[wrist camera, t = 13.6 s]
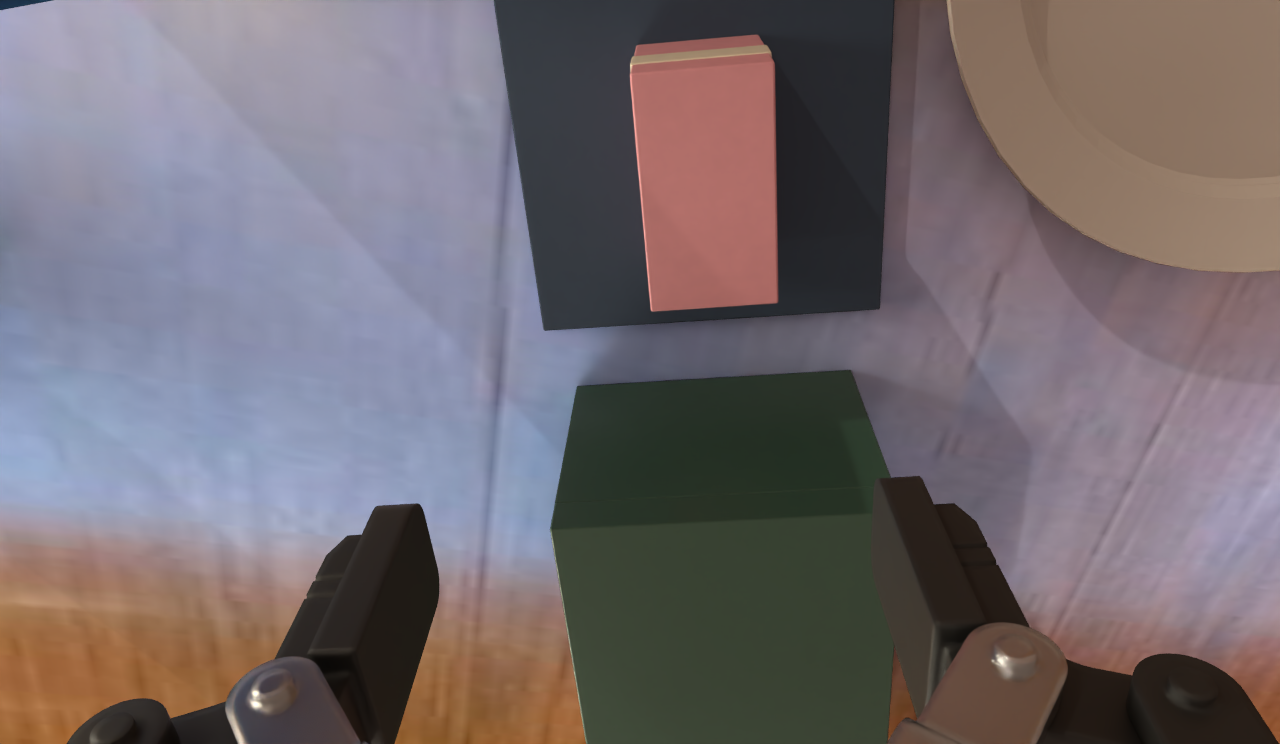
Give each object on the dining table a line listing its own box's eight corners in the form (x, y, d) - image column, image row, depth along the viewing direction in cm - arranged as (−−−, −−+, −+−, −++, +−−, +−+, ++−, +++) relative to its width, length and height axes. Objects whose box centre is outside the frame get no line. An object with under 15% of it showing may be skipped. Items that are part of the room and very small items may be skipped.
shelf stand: (612, 648, 47) (599, 824, 38) (576, 385, 39) (549, 529, 31) (842, 639, 46) (882, 816, 37) (851, 369, 38) (904, 512, 30)
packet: (652, 255, 36) (649, 314, 31) (634, 43, 32) (627, 72, 27) (765, 247, 35) (780, 305, 31) (760, 32, 32) (776, 59, 27)
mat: (545, 326, 38) (543, 331, 38) (491, -32, 31) (488, -31, 31) (877, 304, 37) (880, 309, 37) (895, -69, 30) (898, -69, 30)
